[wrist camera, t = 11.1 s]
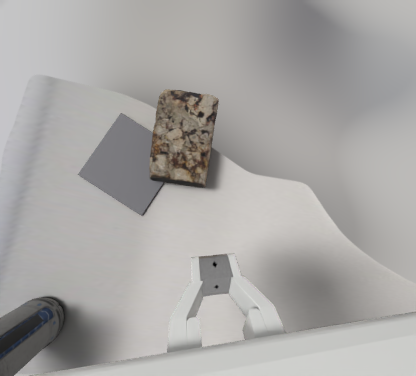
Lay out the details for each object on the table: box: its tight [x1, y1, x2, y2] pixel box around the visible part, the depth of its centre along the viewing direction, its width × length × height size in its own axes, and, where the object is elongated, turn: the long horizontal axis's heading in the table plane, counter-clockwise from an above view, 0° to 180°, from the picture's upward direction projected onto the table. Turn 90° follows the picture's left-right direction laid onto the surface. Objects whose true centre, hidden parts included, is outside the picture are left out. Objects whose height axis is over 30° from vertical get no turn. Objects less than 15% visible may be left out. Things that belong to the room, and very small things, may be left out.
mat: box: [78, 113, 164, 216], centre depth 39 cm, size 18×18×1 cm
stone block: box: [149, 89, 218, 188], centre depth 37 cm, size 13×7×20 cm
